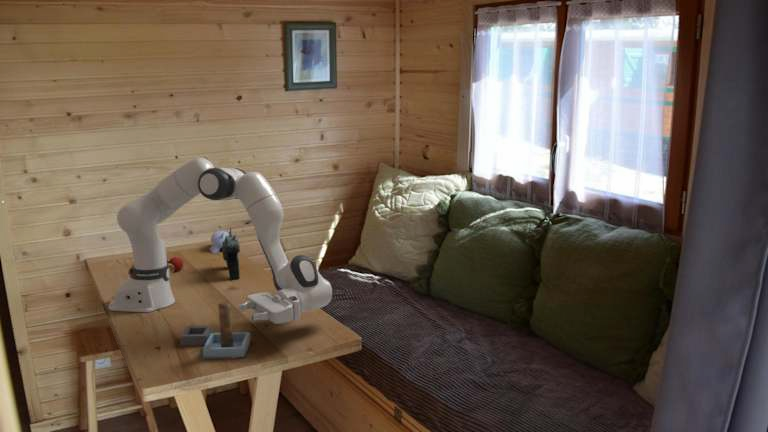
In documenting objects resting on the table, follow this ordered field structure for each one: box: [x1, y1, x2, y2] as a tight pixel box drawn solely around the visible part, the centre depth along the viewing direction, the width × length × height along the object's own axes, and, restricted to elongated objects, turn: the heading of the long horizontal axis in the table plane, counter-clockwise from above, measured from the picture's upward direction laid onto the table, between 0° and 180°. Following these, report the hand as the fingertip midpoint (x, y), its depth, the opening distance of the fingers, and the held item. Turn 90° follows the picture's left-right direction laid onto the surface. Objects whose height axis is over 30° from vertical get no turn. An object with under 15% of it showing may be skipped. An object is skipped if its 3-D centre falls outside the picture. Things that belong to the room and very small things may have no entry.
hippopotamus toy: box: [209, 230, 229, 254], centre depth 320 cm, size 11×15×10 cm
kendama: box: [167, 256, 184, 275], centre depth 287 cm, size 8×6×18 cm
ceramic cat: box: [222, 226, 241, 281], centre depth 284 cm, size 20×6×20 cm, turn 17°
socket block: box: [179, 325, 213, 347], centre depth 222 cm, size 8×8×3 cm
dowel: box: [218, 301, 234, 348], centre depth 213 cm, size 4×4×14 cm
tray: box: [202, 331, 252, 360], centre depth 214 cm, size 12×12×3 cm
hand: (245, 313), depth 216 cm, fingers open, 8 cm apart
